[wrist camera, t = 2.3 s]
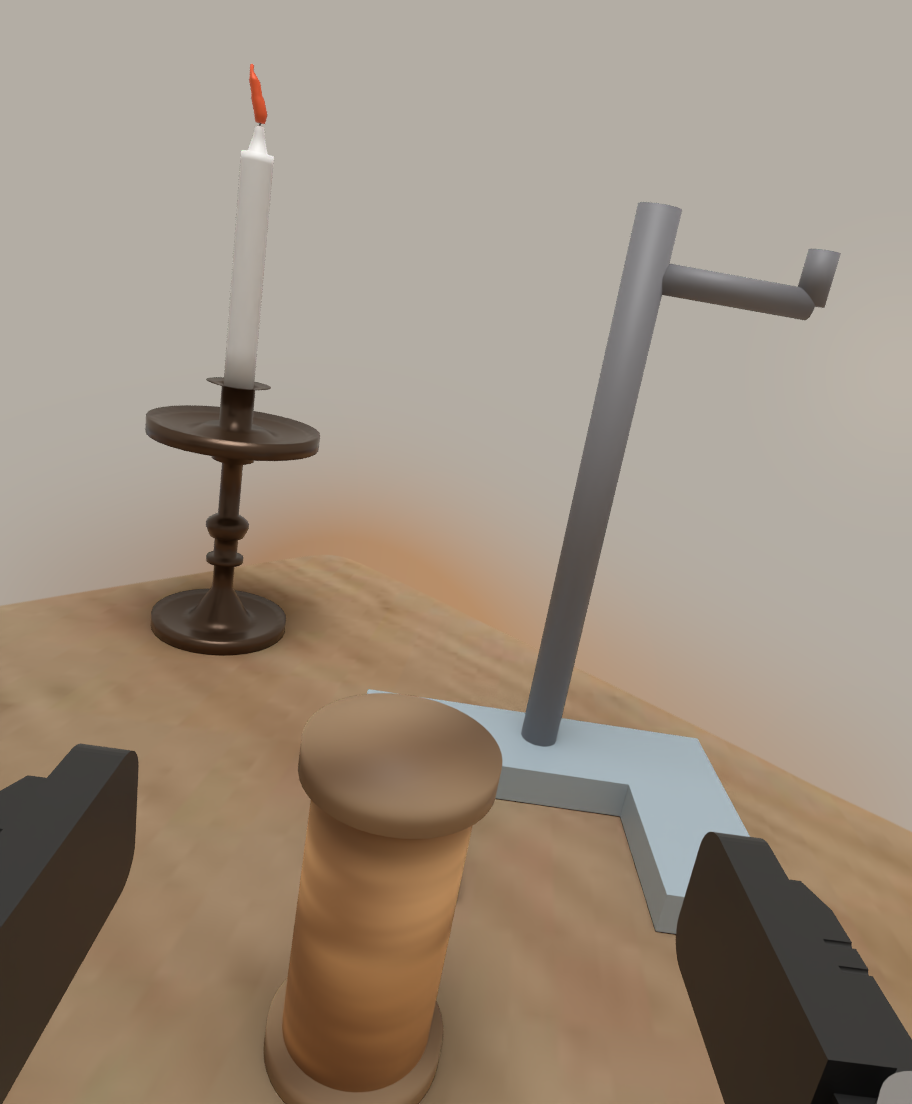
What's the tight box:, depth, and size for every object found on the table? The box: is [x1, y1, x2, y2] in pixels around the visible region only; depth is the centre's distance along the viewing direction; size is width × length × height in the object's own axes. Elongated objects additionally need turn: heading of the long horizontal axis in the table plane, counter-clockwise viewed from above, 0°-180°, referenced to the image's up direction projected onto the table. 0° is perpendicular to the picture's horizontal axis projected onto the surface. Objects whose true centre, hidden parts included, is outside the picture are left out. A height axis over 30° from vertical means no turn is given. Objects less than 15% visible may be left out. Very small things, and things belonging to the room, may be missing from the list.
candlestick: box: [145, 64, 320, 655], centre depth 50 cm, size 11×11×35 cm
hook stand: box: [367, 202, 840, 934], centre depth 37 cm, size 20×14×30 cm
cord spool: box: [264, 693, 503, 1104], centre depth 26 cm, size 6×6×12 cm
